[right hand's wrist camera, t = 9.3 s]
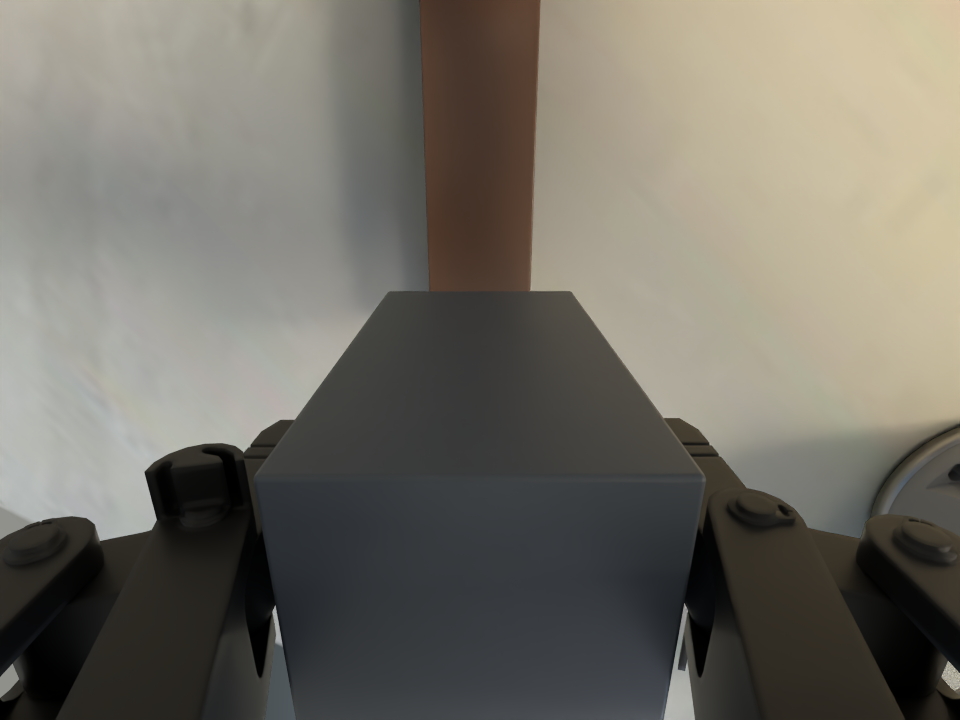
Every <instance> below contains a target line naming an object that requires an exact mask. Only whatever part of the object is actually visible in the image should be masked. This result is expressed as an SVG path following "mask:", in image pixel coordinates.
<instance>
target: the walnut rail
mask: <svg viewBox="0 0 960 720" xmlns="http://www.w3.org/2000/svg"><path fill="white" fill-rule="evenodd" d="M419 2H420V31H421V60H422V89H423V118H424V147H425V176H426V205H427V234H428V263H429V291H530V282H531V254H532V225H533V196H534V168H535V139H536V111H537V82H538V53H539V25H540V0H419Z"/></svg>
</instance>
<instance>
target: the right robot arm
mask: <svg viewBox="0 0 960 720" xmlns="http://www.w3.org/2000/svg"><path fill="white" fill-rule="evenodd" d="M664 420H665V421H666V423H667V424H668V425H669V427H670V428H671V429H672V431H673V432H674V434H675V435H676V436H677V438H678V439H679V440H680V442H681V443H682V445H683V446H684V447H685V449H686V450H687V451H688V453H689V454H690V456H691V457H692V458H693V460H694V461H695V462H696V464H697V465H698V466H699V468H700V469H701V471H702V472H703V473H704V475H705V478H706V484H705V489H704V495H703V501H702V506H701V512H700V518H699V523H698V529H697V534H696V540H695V546H694V551H693V557H692V562H691V568H690V574H689V579H688V585H687V590H686V596H685V602H684V603H685V605H686V607H687V609H688V613H687V619H686V624H685V630H684V635H683V640H682V646H681V651H680V657H679V664H678V670H683V671H685V668H686V663H687V660H688V668H689V675H690V683H691V691H692V698H693V706H694V714H695V720H960V688H959V689H958V690H956V691H954V690H953V689H951V688H950V687H949V685H948V684H947V683H946V682H945V681H944V680H943V679H942V678H941V676H942V674H943V671H944V669H945V667H946V664H947V662H948V661H949V662H950V663H951V664H952V665H953V666H954V667H955V668H956V669H957V670H958V672H959V673H960V427H958V428H955V429H953V430H951V431H948V432H946V433H944V434H942V435H940V436H938V437H936V438H934V439H932V440H931V441H929V442H928V443H926V444H924V445H923V446H921V447H920V448H919V449H917V450H916V451H915V452H913V453H912V454H911V455H910V456H909V457H907V458H906V459H905V460H904V461H903V462H902V463H901V464H900V465H899V466H898V467H897V468H896V469H895V470H894V472H893V473H892V474H891V475H890V476H889V478H888V479H887V481H886V482H885V483H884V485H883V487H882V488H881V490H880V492H879V494H878V496H877V498H876V500H875V503H874V506H873V509H872V513H871V518H870V519H869V520H868V521H866V523H865V526H864V529H863V532H862V536H861V539H859V538H854V537H849V536H844V535H839V534H834V533H829V532H824V531H818V530H814V529H811V528H807V526H806V524H805V522H804V520H803V519H802V517H801V516H800V515H799V514H798V513H797V511H796V510H795V509H794V508H793V507H791V506H790V505H788V504H787V503H785V502H784V501H782V500H781V499H779V498H776V497H774V496H772V495H769V494H767V493H764V492H761V491H757V490H752V489H748V488H746V487H745V485H744V484H743V483H742V482H741V481H740V479H739V478H738V477H737V476H736V474H735V473H734V472H733V471H732V470H731V468H730V467H729V466H728V465H727V464H726V462H725V461H724V460H723V459H722V458H721V457H719V456H718V453H717V452H716V450H715V449H714V448H713V447H712V446H709V442H708V441H707V439H706V438H705V437H704V436H703V435H702V433H701V432H700V431H699V430H698V429H696V428H695V427H693V426H691V425H690V424H688V423H686V422H685V421H683V420H681V419H680V418H664ZM294 421H295V420H280V421H278V422H276V423H275V424H273V425H271V426H270V427H268V428H266V429H265V430H263V431H262V432H261V433H260V434H259V435H258V436H257V438H256V439H255V440H254V441H253V442H252V444H251V447H248V449H247V450H246V451H245V452H244V453H243V451H241V450H240V449H239V448H237V447H236V446H233V445H228V444H223V443H217V444H202V445H197V446H192V447H187V448H184V449H181V450H178V451H176V452H173V453H170V454H168V455H166V456H164V457H163V458H161V459H159V460H157V461H156V462H154V463H153V464H152V465H151V466H150V467H149V468H148V469H147V470H146V471H145V476H146V480H147V484H148V488H149V491H150V495H151V499H152V503H153V507H154V510H155V514H156V518H157V521H156V523H155V525H154V527H153V529H152V530H151V531H147V532H143V533H138V534H133V535H128V536H123V537H118V538H113V539H108V540H103V541H100V540H99V537H98V534H97V531H96V528H95V524H93V523H92V522H91V521H89V520H88V519H87V518H80V517H73V516H71V517H62V518H52V519H47V520H42V522H36V523H33V524H30V525H27V526H25V527H24V528H22V529H20V530H18V531H16V532H13V533H11V534H9V535H7V536H6V537H4V538H2V539H1V540H0V676H1V675H2V674H3V673H4V672H5V671H6V670H7V669H8V668H9V667H10V665H11V664H12V663H13V665H14V668H15V670H16V672H17V675H18V677H19V680H18V681H17V683H16V684H15V685H14V686H13V687H12V688H11V689H10V690H9V691H8V692H7V693H6V694H5V695H3V696H2V697H1V698H0V720H265V715H266V707H267V700H268V692H269V684H270V677H271V669H272V661H273V653H274V646H275V638H276V632H275V624H274V619H273V613H272V611H273V609H274V607H275V605H276V604H275V599H274V593H273V588H272V582H271V576H270V571H269V565H268V560H267V554H266V548H265V543H264V537H263V532H262V526H261V520H260V515H259V509H258V504H257V498H256V492H255V487H254V476H255V474H256V473H257V471H258V470H259V469H260V467H261V466H262V464H263V463H264V462H265V460H266V459H267V458H268V456H269V455H270V453H271V452H272V451H273V449H274V448H275V447H276V445H277V444H278V442H279V441H280V440H281V438H282V437H283V436H284V434H285V433H286V432H287V430H288V429H289V427H290V426H291V425H292V423H293V422H294Z"/></svg>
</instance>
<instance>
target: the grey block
mask: <svg viewBox="0 0 960 720" xmlns="http://www.w3.org/2000/svg"><path fill="white" fill-rule="evenodd" d="M705 484H706V478H705V475H704V473H703V472H702V471H701V469H700V468H699V466H698V465H697V464H696V462H695V461H694V460H693V458H692V457H691V456H690V454H689V453H688V451H687V450H686V449H685V447H684V446H683V445H682V443H681V442H680V440H679V439H678V438H677V436H676V435H675V434H674V432H673V431H672V429H671V428H670V427H669V425H668V424H667V423H666V421H665V420H664V418H663V417H662V416H661V414H660V413H659V412H658V410H657V409H656V407H655V406H654V405H653V403H652V402H651V401H650V399H649V398H648V396H647V395H646V394H645V392H644V391H643V390H642V388H641V387H640V385H639V384H638V383H637V381H636V380H635V379H634V377H633V376H632V374H631V373H630V372H629V370H628V369H627V368H626V366H625V365H624V364H623V362H622V361H621V359H620V358H619V357H618V355H617V354H616V353H615V351H614V350H613V348H612V347H611V346H610V344H609V343H608V342H607V340H606V339H605V337H604V336H603V335H602V333H601V332H600V331H599V329H598V328H597V326H596V325H595V324H594V322H593V321H592V320H591V318H590V317H589V315H588V314H587V313H586V311H585V310H584V309H583V307H582V306H581V304H580V303H579V302H578V300H577V299H576V298H575V296H574V295H573V293H572V292H570V291H390V292H388V293H387V294H386V296H385V297H384V299H383V300H382V301H381V303H380V304H379V305H378V307H377V308H376V309H375V311H374V312H373V314H372V315H371V316H370V318H369V319H368V320H367V322H366V323H365V325H364V326H363V327H362V329H361V330H360V331H359V333H358V334H357V336H356V337H355V338H354V340H353V341H352V342H351V344H350V345H349V347H348V348H347V349H346V351H345V352H344V353H343V355H342V356H341V357H340V359H339V360H338V362H337V363H336V364H335V366H334V367H333V368H332V370H331V371H330V373H329V374H328V375H327V377H326V378H325V379H324V381H323V382H322V384H321V385H320V386H319V388H318V389H317V390H316V392H315V393H314V395H313V396H312V397H311V399H310V400H309V401H308V403H307V404H306V405H305V407H304V408H303V410H302V411H301V412H300V414H299V415H298V416H297V418H296V419H295V421H294V422H293V423H292V425H291V426H290V427H289V429H288V430H287V432H286V433H285V434H284V436H283V437H282V438H281V440H280V441H279V442H278V444H277V445H276V447H275V448H274V449H273V451H272V452H271V453H270V455H269V456H268V458H267V459H266V460H265V462H264V463H263V464H262V466H261V467H260V469H259V470H258V471H257V473H256V474H255V476H254V487H255V492H256V498H257V504H258V509H259V515H260V520H261V526H262V532H263V537H264V543H265V548H266V554H267V560H268V565H269V571H270V576H271V582H272V588H273V593H274V599H275V604H276V610H277V616H278V621H279V627H280V632H281V638H282V644H283V649H284V655H285V660H286V666H287V671H288V677H289V682H290V688H291V694H292V699H293V705H294V711H295V716H296V720H663V719H664V714H665V708H666V702H667V697H668V691H669V686H670V680H671V674H672V669H673V663H674V658H675V652H676V646H677V641H678V635H679V630H680V624H681V618H682V613H683V607H684V602H685V596H686V590H687V585H688V579H689V574H690V568H691V562H692V557H693V551H694V546H695V540H696V534H697V529H698V523H699V518H700V512H701V506H702V501H703V495H704V489H705Z"/></svg>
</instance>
